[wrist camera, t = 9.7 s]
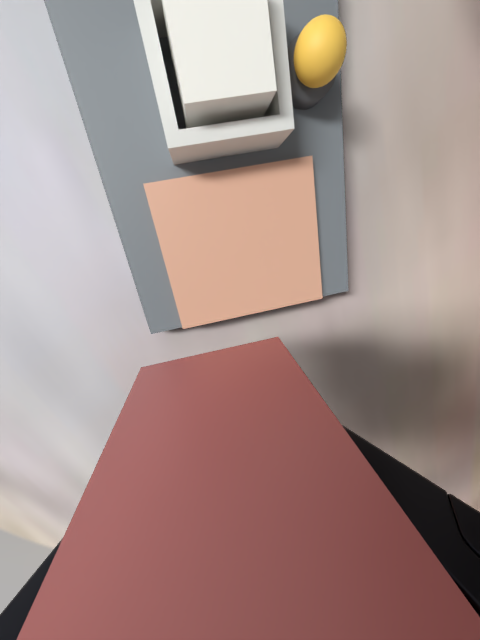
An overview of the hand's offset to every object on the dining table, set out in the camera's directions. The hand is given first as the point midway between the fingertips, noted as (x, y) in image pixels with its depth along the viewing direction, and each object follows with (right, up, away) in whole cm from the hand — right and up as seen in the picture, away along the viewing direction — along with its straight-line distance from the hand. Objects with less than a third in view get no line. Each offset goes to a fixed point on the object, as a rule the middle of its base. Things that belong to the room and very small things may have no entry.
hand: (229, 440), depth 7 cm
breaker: (-1, +14, +5) cm, 15 cm away
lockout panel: (-1, +12, +8) cm, 14 cm away
